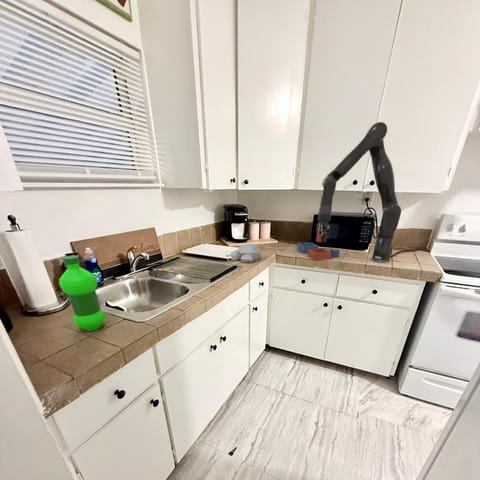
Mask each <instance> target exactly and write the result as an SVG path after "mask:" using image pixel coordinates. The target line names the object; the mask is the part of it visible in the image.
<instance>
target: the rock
mask: <svg viewBox="0 0 480 480" xmlns="http://www.w3.org/2000/svg"><path fill="white" fill-rule="evenodd" d="M261 254H262V251H261V249H260V247H259V245H258V244H251V243H248V244H247V243H245V244H240V245H239V247H238V248H237V250H233V251H231V252H230V253H229V255H228V257H230V256H231V257H232V258H230V260H231V261H238V260H240V261H241V263H254V261H258V260H260V259H261Z"/></svg>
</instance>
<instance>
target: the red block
mask: <svg viewBox="0 0 480 480" xmlns="http://www.w3.org/2000/svg"><path fill="white" fill-rule="evenodd" d="M327 236H328V235H326V236H325V242H324V243H326V242H327ZM321 238H322V234H318V233H316V239H315V242H317V243H322V242H321Z"/></svg>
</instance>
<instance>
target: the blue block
mask: <svg viewBox="0 0 480 480" xmlns="http://www.w3.org/2000/svg"><path fill="white" fill-rule="evenodd" d="M329 251H330V252H332V253H331V258H339V257H340V249H338V248H330V249H329Z"/></svg>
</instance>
